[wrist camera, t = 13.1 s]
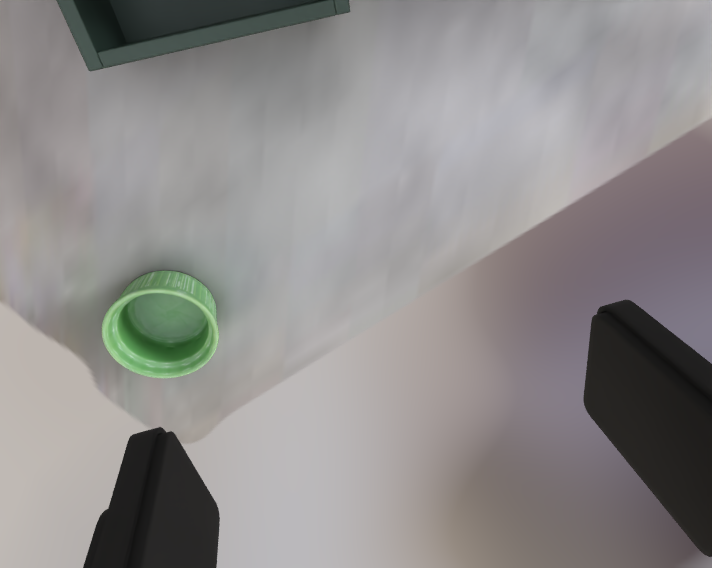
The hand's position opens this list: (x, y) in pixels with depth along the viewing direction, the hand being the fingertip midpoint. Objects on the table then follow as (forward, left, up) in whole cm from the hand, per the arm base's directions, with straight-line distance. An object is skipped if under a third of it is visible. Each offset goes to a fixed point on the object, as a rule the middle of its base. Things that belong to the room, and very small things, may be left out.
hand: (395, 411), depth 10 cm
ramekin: (+15, +13, -31) cm, 36 cm away
